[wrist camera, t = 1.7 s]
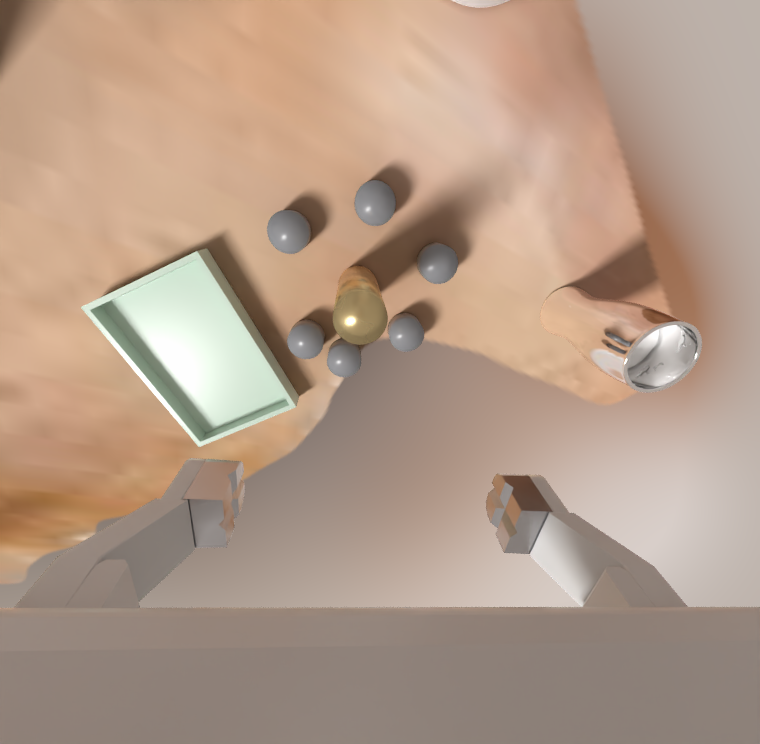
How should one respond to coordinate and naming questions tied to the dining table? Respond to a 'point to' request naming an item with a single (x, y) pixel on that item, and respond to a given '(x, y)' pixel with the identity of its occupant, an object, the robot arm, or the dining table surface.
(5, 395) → the dining table surface
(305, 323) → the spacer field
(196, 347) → the tray
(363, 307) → the gold metal cylinder
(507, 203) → the dining table surface
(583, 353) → the beer glass
